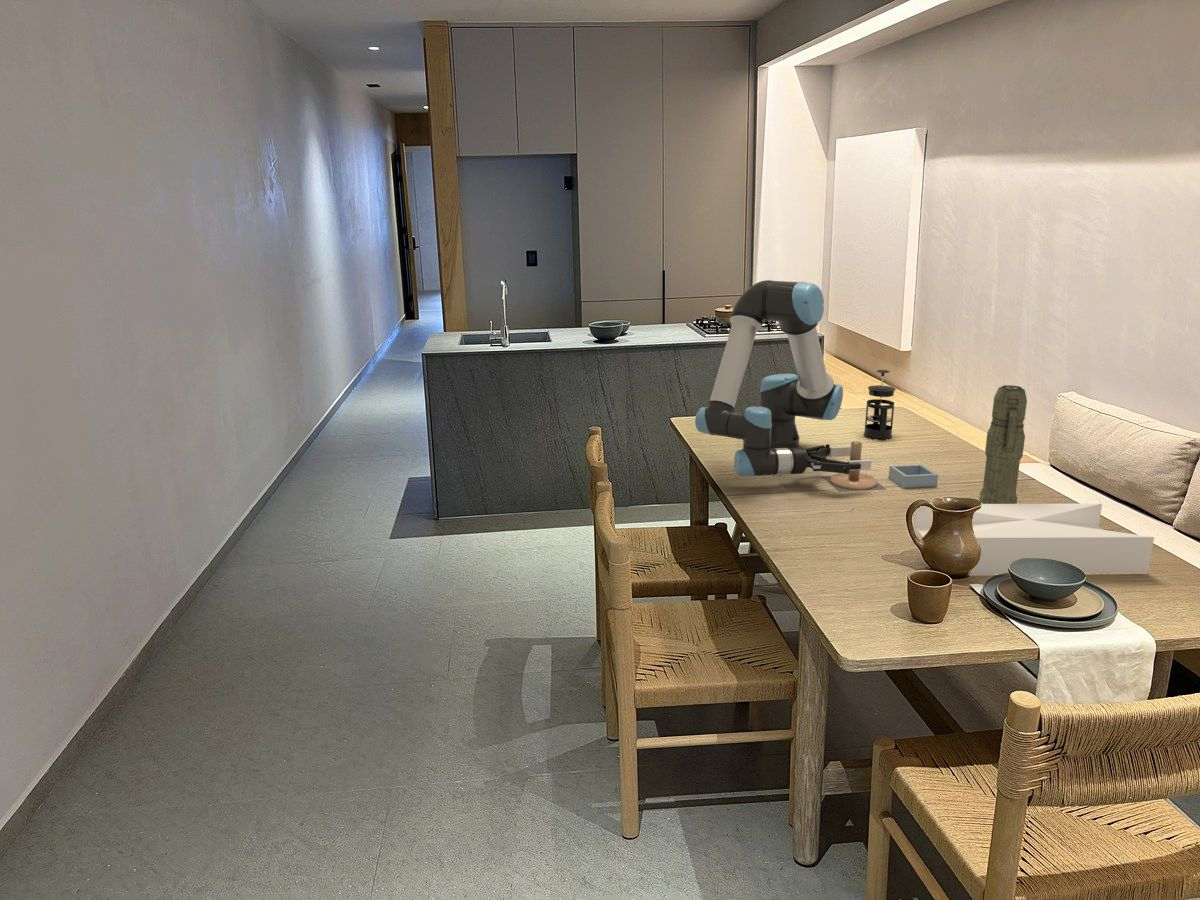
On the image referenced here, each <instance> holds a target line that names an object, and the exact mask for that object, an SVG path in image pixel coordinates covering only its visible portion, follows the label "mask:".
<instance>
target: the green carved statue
mask: <svg viewBox="0 0 1200 900" xmlns="http://www.w3.org/2000/svg"><path fill="white" fill-rule="evenodd" d="M1027 402H1028V398H1027V394H1026V390H1025V388H1022V387H1021V386H1018V385H1013V384H1012V385H1009V384H1008V385H1007V384H1005V385H1001V386H999V387H997V391H996V392H995V394H994V397H993V404H992V411H991V412H992V414H991V417H992V420H991V422H990V427H989V428H988V430H987V433H986V441H985V450H984V451H985V452H984V454H985V456H986V457H985V458H986V459H985V466H984V467H985V468H984V477H983V484H982V488H981V491H980V492H979V498H978V500H980V501H981V502H982V503H983V504H1018V497H1017V487H1018V477H1019V470H1020V465H1021V464H1020V462H1021V459H1022V458H1023V455H1024V448H1025V439H1026V436H1025V430H1024V426H1025V424H1024V421H1025V420H1026V418H1025V417H1026V412H1027V411H1026V409H1027Z"/></svg>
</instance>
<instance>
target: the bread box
mask: <svg viewBox="0 0 1200 900" xmlns="http://www.w3.org/2000/svg"><path fill="white" fill-rule="evenodd" d="M1102 508H1103V503H1017V504H982V506H981V508H980V509H979V510H977V511H976V512H975V513H974V515H973V519H972V525H973V531H974V535H975V537H976V539H977V541H978V544H979V545H980V548H981V556H980V560H979V562H978V564H977V565H976V566H975V568H974V569H973V570H972V571H971V573H970V574H969V576H975V577H977V576H979V577H980V576H981V577H982V576H984V577H985V576H986V577H987V576H993V575H995V574H1002V573H1008V565H1009V563H1010V562H1012V561H1014V560H1016V559H1020V558H1047V559H1054V560H1059V561H1063V562H1066V563H1069V564H1072V565H1075V566H1077V567H1079V568H1081V569H1082V570H1083V571H1084V572H1085V573H1086V572H1088V573H1089V572H1090V573H1148V574H1149V569H1150V565H1151V558H1152V553H1153V548H1154V541H1155V536H1148V535H1143V534H1134V533H1129V532H1128V533H1127V532H1122V531H1121V532H1120V531H1114V530H1113V531H1112V530H1106V529H1104V528H1102V527H1100V522H1101V516H1102V515H1101V514H1102ZM914 516H915V517H914V527H913V530H914V529H915V532H916V534H917V536H918V537H919V539H922V538H923V537H924V535H925V534H926V533H927V532H928V530H929V528H930V526H931V523H932V516H933V515H932V510H931V508H930V507H927V506H920V507H919V508H917V509H916V508H915V515H914Z"/></svg>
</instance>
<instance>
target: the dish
mask: <svg viewBox="0 0 1200 900" xmlns="http://www.w3.org/2000/svg"><path fill="white" fill-rule="evenodd" d="M888 468H889V470H888V478H889V479H890V480H891V481H892V482H894V483H895V484H896V485H898V486H899V487H901V488H902V489H905V490H906V489H921V488H922V489H923V488H936V487H937V488H938V480H939V474H938V473H936V472H934V471H933V470H932V469H930V468H928V467H927V466H925V465H924V464H902V465H901V464H900V465H889V467H888Z"/></svg>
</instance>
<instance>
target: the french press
mask: <svg viewBox="0 0 1200 900" xmlns="http://www.w3.org/2000/svg"><path fill="white" fill-rule="evenodd" d="M890 372H891V371H890V370H887V369H878V370H876V373H880V375H881V385H879V384H878V385H869V386H868V387H867V389H868V394H869V396H872V397H877V398H876V399H875V398H874V399H868V400H866V407H865V419H864V432H863V437H864V436H865V438H866V437H868V438H867V439H869V438H871V439H870V440H874V439H878V440H877V441H884V440H885V439H888V440H891V439H892V438H893V424H894V411H895V402H894V401H892V400H889V399H883V398H889V397H890V398H891V397H894V394H895V391H896V388H895V387H894V386H889V385H883V384H884V383H883V382H884V377H885V374H889V373H890ZM878 397H879V399H878ZM883 404H884V405H883ZM869 408H870V409H873V414H872V415H868V413H869ZM888 410H891V416H888ZM868 421H869V422H872V423H868ZM887 423H890V425H889V424H887ZM890 438H891V439H890ZM885 441H886V440H885Z"/></svg>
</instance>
